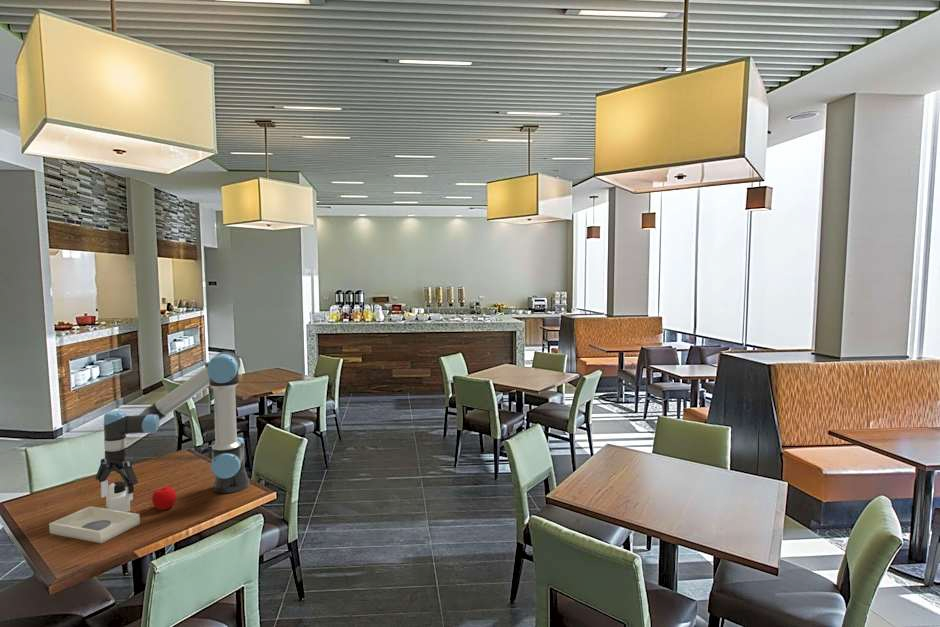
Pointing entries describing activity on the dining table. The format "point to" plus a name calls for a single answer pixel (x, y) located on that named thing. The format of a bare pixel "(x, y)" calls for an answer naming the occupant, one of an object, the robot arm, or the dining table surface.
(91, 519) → the tray
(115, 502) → the medicine bottle
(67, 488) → the dining table surface
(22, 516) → the dining table surface
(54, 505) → the dining table surface
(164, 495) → the fruit
